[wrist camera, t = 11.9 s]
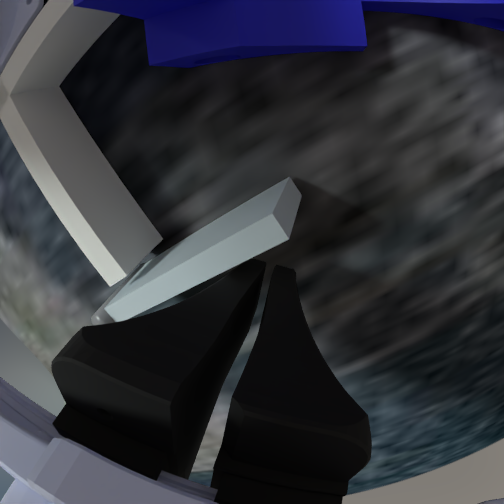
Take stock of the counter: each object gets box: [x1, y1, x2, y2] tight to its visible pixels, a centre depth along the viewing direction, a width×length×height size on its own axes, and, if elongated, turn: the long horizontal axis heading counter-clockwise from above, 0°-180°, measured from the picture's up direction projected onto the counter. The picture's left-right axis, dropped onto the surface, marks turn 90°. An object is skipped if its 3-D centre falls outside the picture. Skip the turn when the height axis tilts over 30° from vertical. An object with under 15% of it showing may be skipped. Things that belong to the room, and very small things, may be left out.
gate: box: [91, 177, 302, 325], centre depth 11 cm, size 1×8×4 cm, turn 124°
